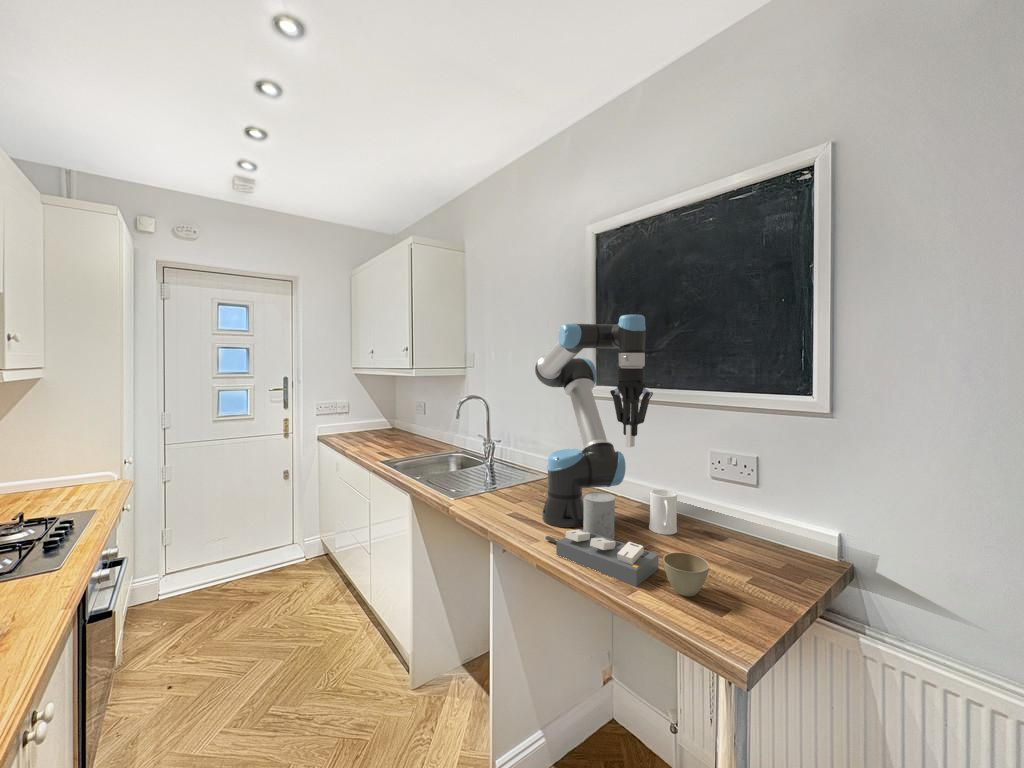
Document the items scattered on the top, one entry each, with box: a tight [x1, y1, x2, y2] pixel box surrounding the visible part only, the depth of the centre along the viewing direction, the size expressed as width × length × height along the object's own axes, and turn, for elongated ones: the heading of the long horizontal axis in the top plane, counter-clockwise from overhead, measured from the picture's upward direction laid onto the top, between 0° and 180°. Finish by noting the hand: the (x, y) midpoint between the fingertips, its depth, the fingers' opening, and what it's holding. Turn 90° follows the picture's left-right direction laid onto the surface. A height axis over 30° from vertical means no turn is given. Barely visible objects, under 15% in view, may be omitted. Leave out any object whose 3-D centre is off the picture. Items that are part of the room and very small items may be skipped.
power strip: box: [545, 529, 660, 588], centre depth 120 cm, size 33×12×4 cm, turn 47°
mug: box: [648, 488, 678, 536], centre depth 138 cm, size 12×8×12 cm
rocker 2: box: [590, 538, 616, 550], centre depth 116 cm, size 4×6×2 cm, turn 137°
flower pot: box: [662, 551, 710, 597], centre depth 102 cm, size 10×10×7 cm
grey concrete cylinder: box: [582, 491, 616, 540], centre depth 134 cm, size 10×10×12 cm
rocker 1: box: [564, 529, 590, 542], centre depth 121 cm, size 4×6×2 cm, turn 137°
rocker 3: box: [617, 541, 645, 565], centre depth 110 cm, size 4×6×2 cm, turn 137°
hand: (630, 446), depth 131 cm, fingers closed
